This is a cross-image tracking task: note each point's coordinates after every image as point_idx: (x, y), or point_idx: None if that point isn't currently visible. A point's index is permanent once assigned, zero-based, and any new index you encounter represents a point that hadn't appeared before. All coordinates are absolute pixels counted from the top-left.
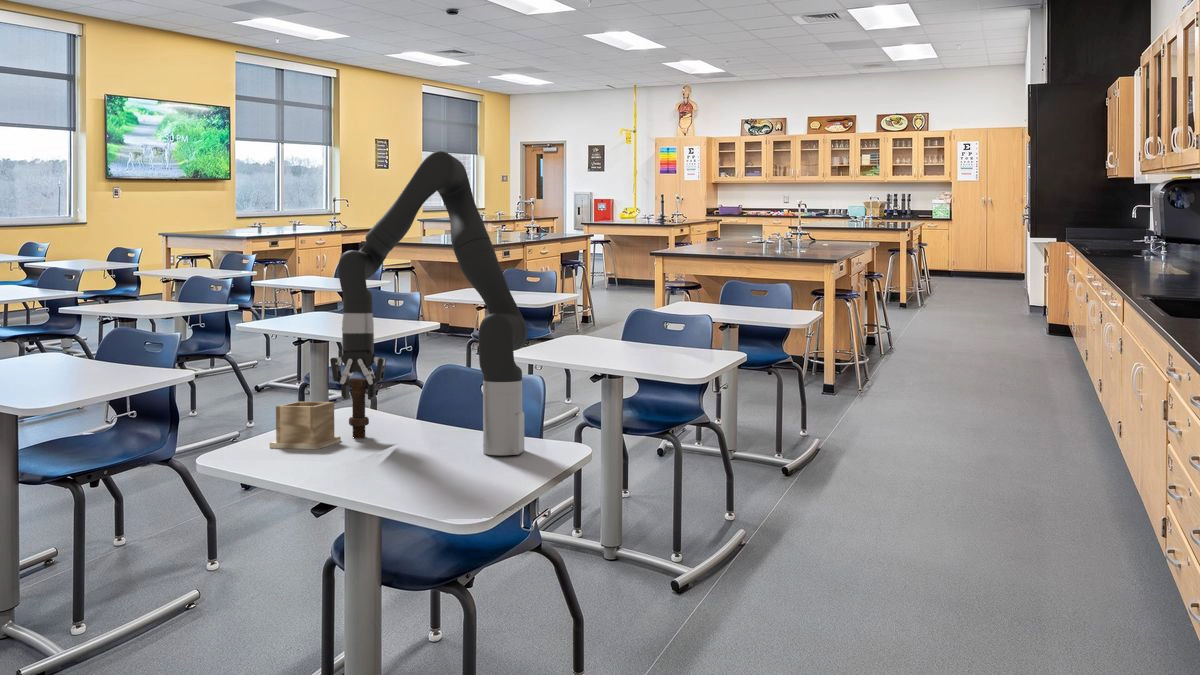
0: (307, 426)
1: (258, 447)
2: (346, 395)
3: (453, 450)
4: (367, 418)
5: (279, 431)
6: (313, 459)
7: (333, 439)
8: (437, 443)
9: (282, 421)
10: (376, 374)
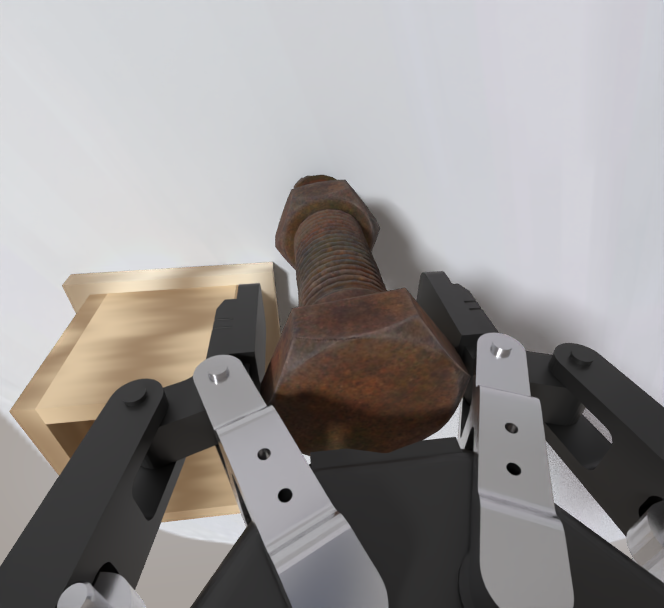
0: None
1: None
2: (264, 337)
3: (660, 335)
4: (376, 237)
5: None
6: None
7: (278, 322)
8: (635, 236)
9: None
10: (568, 459)
